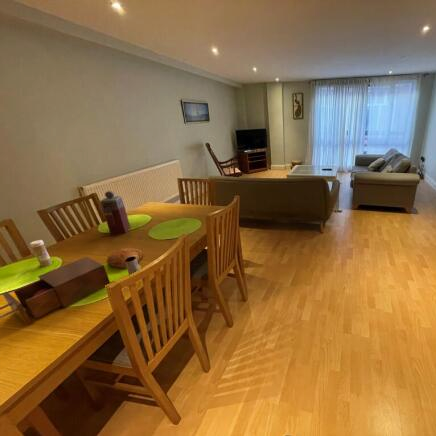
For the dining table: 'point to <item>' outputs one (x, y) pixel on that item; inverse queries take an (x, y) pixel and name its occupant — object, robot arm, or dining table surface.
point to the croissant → (123, 257)
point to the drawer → (32, 301)
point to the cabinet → (76, 280)
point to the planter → (131, 265)
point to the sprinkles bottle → (41, 253)
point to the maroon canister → (115, 213)
